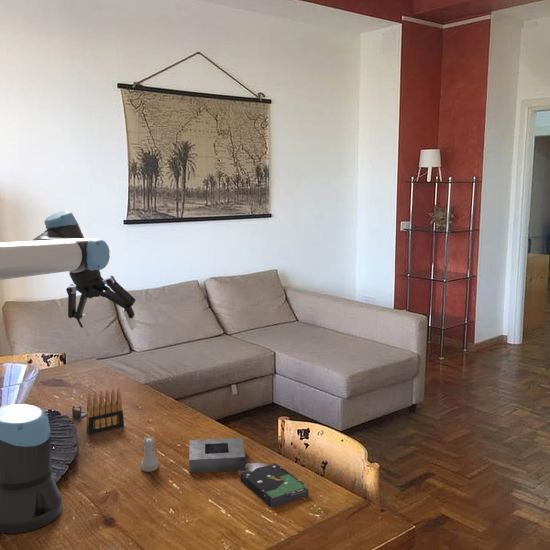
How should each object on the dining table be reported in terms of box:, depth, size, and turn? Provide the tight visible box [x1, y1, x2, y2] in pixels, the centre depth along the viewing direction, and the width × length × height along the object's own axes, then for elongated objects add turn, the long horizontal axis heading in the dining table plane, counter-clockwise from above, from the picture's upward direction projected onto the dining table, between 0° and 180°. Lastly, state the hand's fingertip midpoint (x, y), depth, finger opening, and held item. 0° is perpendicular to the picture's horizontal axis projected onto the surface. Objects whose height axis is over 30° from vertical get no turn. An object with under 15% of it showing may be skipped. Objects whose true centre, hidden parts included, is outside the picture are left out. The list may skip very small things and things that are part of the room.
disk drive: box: [240, 462, 309, 508], centre depth 142 cm, size 10×3×15 cm
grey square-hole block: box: [188, 437, 246, 474], centre depth 156 cm, size 12×14×4 cm
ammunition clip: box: [86, 387, 125, 435], centre depth 176 cm, size 11×2×12 cm, turn 125°
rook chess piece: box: [140, 436, 159, 473], centre depth 151 cm, size 4×4×8 cm
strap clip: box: [70, 405, 87, 424], centre depth 185 cm, size 8×3×4 cm, turn 166°
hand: (112, 331), depth 171 cm, fingers open, 13 cm apart
